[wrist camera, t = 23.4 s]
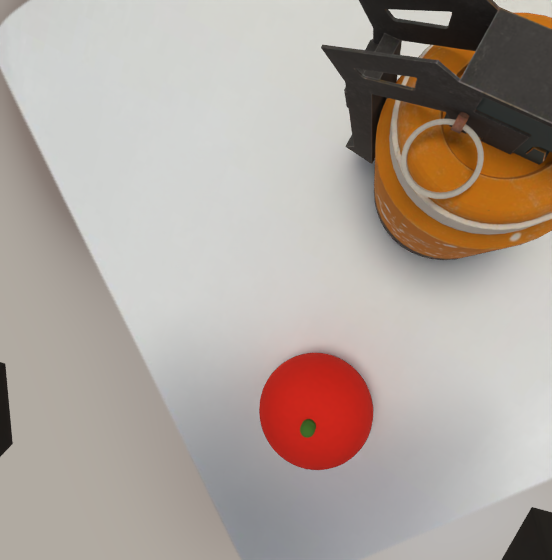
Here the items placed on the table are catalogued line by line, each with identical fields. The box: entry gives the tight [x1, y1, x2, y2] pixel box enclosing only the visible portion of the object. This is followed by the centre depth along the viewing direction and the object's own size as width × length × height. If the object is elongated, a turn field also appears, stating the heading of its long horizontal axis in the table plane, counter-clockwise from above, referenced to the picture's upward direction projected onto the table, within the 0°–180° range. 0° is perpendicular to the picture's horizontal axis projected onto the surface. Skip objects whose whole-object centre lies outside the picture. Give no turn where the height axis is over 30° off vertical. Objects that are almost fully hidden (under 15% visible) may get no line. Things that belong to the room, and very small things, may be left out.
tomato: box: [259, 353, 373, 470], centre depth 31 cm, size 7×7×8 cm
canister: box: [321, 0, 552, 260], centre depth 23 cm, size 9×11×20 cm
